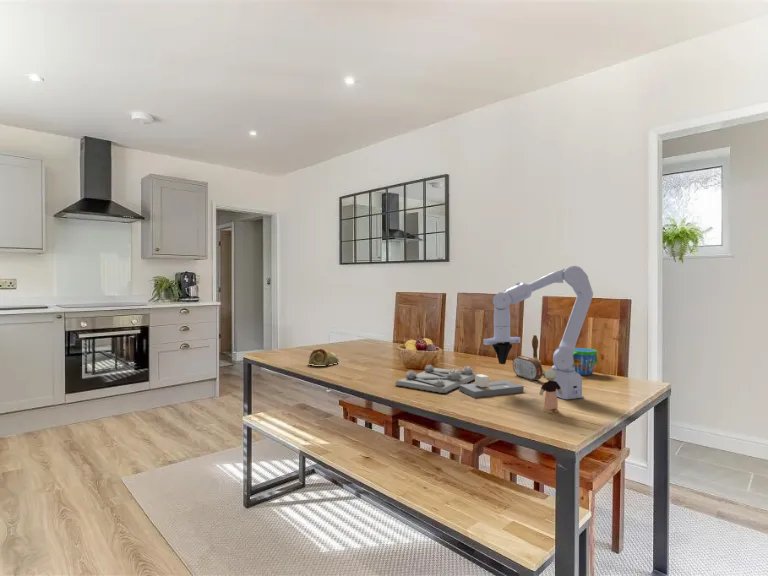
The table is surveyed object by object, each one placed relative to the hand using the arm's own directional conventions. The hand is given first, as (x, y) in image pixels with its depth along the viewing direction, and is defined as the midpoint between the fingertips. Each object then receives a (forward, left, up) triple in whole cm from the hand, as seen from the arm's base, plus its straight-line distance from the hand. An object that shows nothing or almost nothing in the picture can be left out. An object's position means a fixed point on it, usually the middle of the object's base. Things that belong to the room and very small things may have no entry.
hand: (502, 363), depth 153 cm
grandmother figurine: (-27, +2, -10) cm, 28 cm away
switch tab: (-1, +9, -7) cm, 11 cm away
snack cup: (+9, -47, -10) cm, 49 cm away
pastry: (+69, +50, -10) cm, 86 cm away
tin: (+11, -20, -10) cm, 25 cm away
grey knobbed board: (+19, +16, -10) cm, 27 cm away
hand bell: (+18, -30, -10) cm, 36 cm away
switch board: (-1, +5, -9) cm, 11 cm away
